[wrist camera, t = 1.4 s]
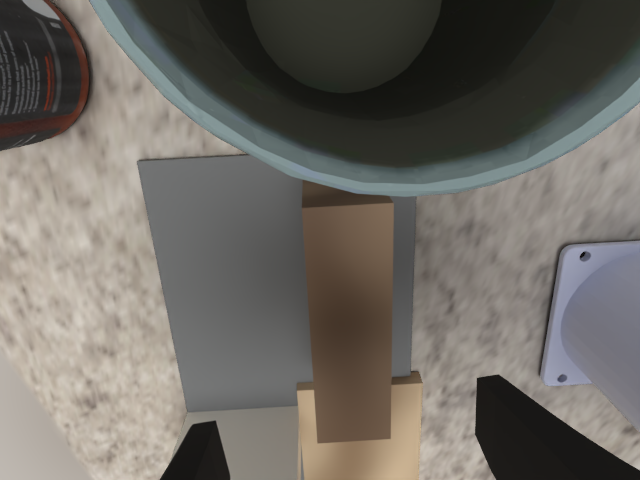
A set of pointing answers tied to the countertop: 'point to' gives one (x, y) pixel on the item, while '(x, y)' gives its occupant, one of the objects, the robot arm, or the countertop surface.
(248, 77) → the teal textured planter
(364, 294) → the brown rectangular block
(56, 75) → the supplement bottle
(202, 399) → the mat
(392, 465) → the trivet
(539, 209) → the countertop surface
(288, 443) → the tile
